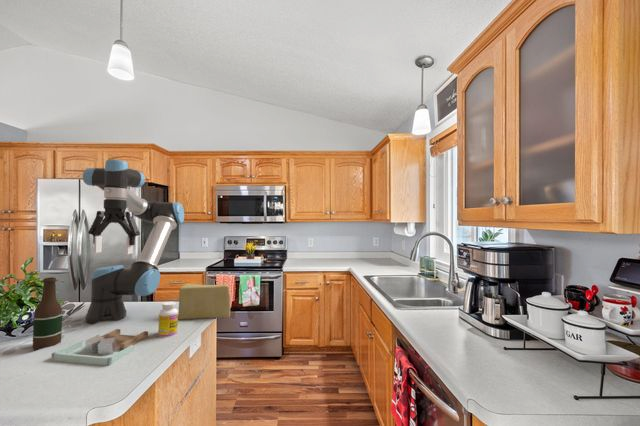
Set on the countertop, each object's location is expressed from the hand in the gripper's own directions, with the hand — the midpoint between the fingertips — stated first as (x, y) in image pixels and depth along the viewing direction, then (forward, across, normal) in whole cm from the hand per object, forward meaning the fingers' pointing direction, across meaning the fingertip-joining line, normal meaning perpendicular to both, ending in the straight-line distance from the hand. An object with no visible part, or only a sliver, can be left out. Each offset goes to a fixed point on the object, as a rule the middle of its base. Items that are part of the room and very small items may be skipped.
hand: (113, 253), depth 120 cm
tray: (+32, +11, -19) cm, 39 cm away
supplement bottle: (+32, +23, +2) cm, 39 cm away
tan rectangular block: (+32, +26, +26) cm, 49 cm away
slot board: (+32, +11, -8) cm, 35 cm away
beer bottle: (+32, -12, -14) cm, 37 cm away
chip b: (+31, +13, -16) cm, 37 cm away
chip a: (+31, +8, -15) cm, 35 cm away
